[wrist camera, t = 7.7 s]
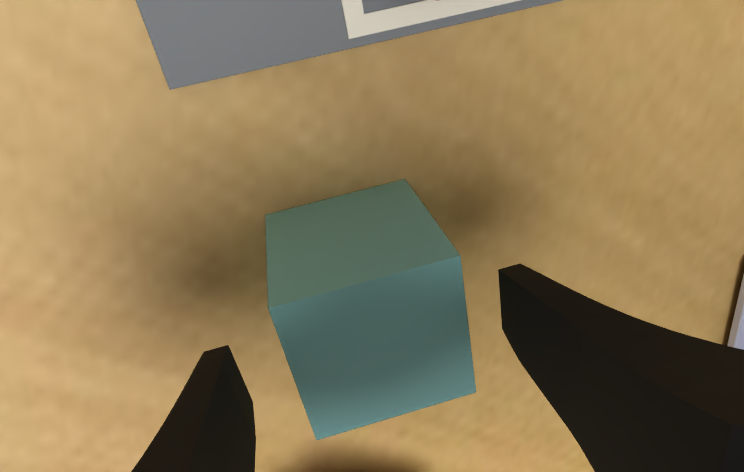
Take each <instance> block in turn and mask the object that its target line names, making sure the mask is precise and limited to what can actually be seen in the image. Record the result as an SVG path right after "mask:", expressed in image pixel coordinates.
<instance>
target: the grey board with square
mask: <svg viewBox="0 0 744 472" xmlns="http://www.w3.org/2000/svg"><path fill="white" fill-rule="evenodd" d="M558 1H562V0H438V1H437V0H136V2H137V5H138V7H139V10H140V13H141V15H142V18H143V21H144V23H145V26H146V28H147V31H148V34H149V36H150V39H151V42H152V44H153V47H154V50H155V52H156V55H157V57H158V60H159V63H160V65H161V68H162V71H163V73H164V76H165V78H166V81H167V84H168V86H169V89H170V90H171V89H175V88H180V87H184V86H188V85H193V84H197V83H202V82H206V81H210V80H215V79H219V78H224V77H228V76H232V75H237V74H241V73H245V72H250V71H254V70H259V69H263V68H267V67H272V66H276V65H281V64H285V63H289V62H294V61H298V60H303V59H307V58H311V57H316V56H320V55H325V54H329V53H333V52H338V51H342V50H347V49H351V48H355V47H360V46H364V45H369V44H373V43H377V42H382V41H386V40H391V39H395V38H399V37H404V36H408V35H413V34H417V33H421V32H426V31H430V30H434V29H439V28H443V27H448V26H452V25H456V24H461V23H465V22H470V21H474V20H478V19H483V18H487V17H492V16H496V15H500V14H505V13H509V12H514V11H518V10H522V9H527V8H531V7H536V6H540V5H544V4H549V3H553V2H558Z"/></svg>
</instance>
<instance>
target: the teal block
mask: <svg viewBox="0 0 744 472" xmlns="http://www.w3.org/2000/svg"><path fill="white" fill-rule="evenodd" d="M265 223H266V255H267V288H268V309H269V312H270V315H271V318H272V320H273V323H274V326H275V328H276V331H277V334H278V337H279V339H280V342H281V345H282V348H283V350H284V353H285V356H286V358H287V361H288V364H289V367H290V369H291V372H292V375H293V378H294V380H295V383H296V386H297V388H298V391H299V394H300V397H301V399H302V402H303V405H304V408H305V410H306V413H307V416H308V418H309V421H310V424H311V427H312V429H313V432H314V435H315V438H316V440H319V439H323V438H326V437H329V436H333V435H336V434H339V433H342V432H346V431H349V430H352V429H356V428H359V427H362V426H366V425H369V424H372V423H376V422H379V421H382V420H386V419H389V418H392V417H396V416H399V415H402V414H406V413H409V412H412V411H416V410H419V409H422V408H425V407H429V406H432V405H435V404H439V403H442V402H445V401H449V400H452V399H455V398H459V397H462V396H465V395H469V394H472V393H475V392H476V387H475V378H474V369H473V361H472V352H471V343H470V335H469V326H468V317H467V308H466V300H465V291H464V282H463V274H462V265H461V256H460V254H459V253H458V252H457V250H456V249H455V247H454V246H453V245H452V243H451V242H450V240H449V239H448V238H447V236H446V235H445V234H444V232H443V231H442V229H441V228H440V227H439V225H438V224H437V222H436V221H435V220H434V218H433V217H432V216H431V214H430V213H429V211H428V210H427V209H426V207H425V206H424V205H423V203H422V202H421V200H420V199H419V198H418V196H417V195H416V193H415V192H414V191H413V189H412V188H411V187H410V185H409V184H408V182H407V181H406V180H405V179H403V180H399V181H395V182H391V183H387V184H383V185H379V186H375V187H372V188H368V189H364V190H360V191H356V192H352V193H348V194H344V195H341V196H337V197H333V198H329V199H325V200H321V201H317V202H313V203H309V204H306V205H302V206H298V207H294V208H290V209H286V210H282V211H278V212H275V213H271V214H267V215H265Z"/></svg>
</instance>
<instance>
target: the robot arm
mask: <svg viewBox="0 0 744 472" xmlns="http://www.w3.org/2000/svg"><path fill="white" fill-rule="evenodd" d="M498 272H499V287H500V302H501V317H502V329H503V331H504V333H505V335H506V337H507V339H508V341H509V343H510V345H511V347H512V348H513V350H514V352H515V354H516V355H517V357H518V359H519V361H520V362H521V364H522V365H523V366H524V368H525V369H526V371H527V372H528V374H529V375H530V376H531V378H532V379H533V380H534V382H535V383H536V385H537V386H538V387H539V389H540V390H541V392H542V393H543V394H544V396H545V397H546V398H547V400H548V401H549V402H550V404H551V405H552V407H553V408H554V409H555V411H556V412H557V413H558V415H559V416H560V418H561V419H562V420H563V422H564V423H565V424H566V426H567V427H568V429H569V430H570V432H571V433H572V435H573V436H574V438H575V439H576V441H577V442H578V444H579V445H580V447H581V449H582V450H583V452H584V454H585V455H586V457H587V459H588V461H589V462H590V464H591V466H592V467H593V469H594V471H595V472H744V274H743V279H742V283H741V287H740V292H739V296H738V301H737V305H736V309H735V314H734V318H733V322H732V327H731V331H730V335H729V340H728V344H727V346H726V345H721V344H717V343H714V342H710V341H706V340H703V339H699V338H695V337H691V336H688V335H685V334H681V333H678V332H675V331H671V330H668V329H666V328H663V327H660V326H657V325H654V324H651V323H648V322H645V321H642V320H640V319H637V318H634V317H632V316H629V315H627V314H624V313H622V312H620V311H617V310H615V309H613V308H610V307H608V306H605V305H603V304H601V303H599V302H597V301H594V300H592V299H590V298H588V297H586V296H584V295H582V294H580V293H577V292H575V291H573V290H571V289H569V288H567V287H565V286H563V285H561V284H559V283H557V282H556V281H554V280H552V279H550V278H548V277H546V276H544V275H542V274H540V273H538V272H536V271H534V270H532V269H530V268H528V267H526V266H524V265H522V264H517V265H513V266H510V267H506V268H502V269H499V270H498ZM255 447H256V436H255V422H254V411H253V401H252V399H251V397H250V394H249V392H248V390H247V387H246V385H245V383H244V380H243V378H242V376H241V374H240V371H239V369H238V367H237V364H236V362H235V360H234V357H233V355H232V353H231V350H230V348H229V346H228V345H227V346H223V347H219V348H216V349H212V350H209V351H205V352H204V353H203V354H202V356H201V358H200V359H199V361H198V363H197V365H196V367H195V369H194V370H193V372H192V374H191V376H190V378H189V380H188V381H187V383H186V385H185V387H184V389H183V391H182V392H181V394H180V396H179V398H178V399H177V401H176V403H175V405H174V406H173V408H172V410H171V411H170V413H169V415H168V417H167V418H166V420H165V422H164V423H163V425H162V427H161V428H160V430H159V431H158V433H157V434H156V436H155V437H154V439H153V441H152V442H151V444H150V445H149V447H148V448H147V450H146V451H145V453H144V454H143V456H142V457H141V459H140V460H139V462H138V463H137V465H136V466H135V467H134V469H133V470H132V472H255Z"/></svg>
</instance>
